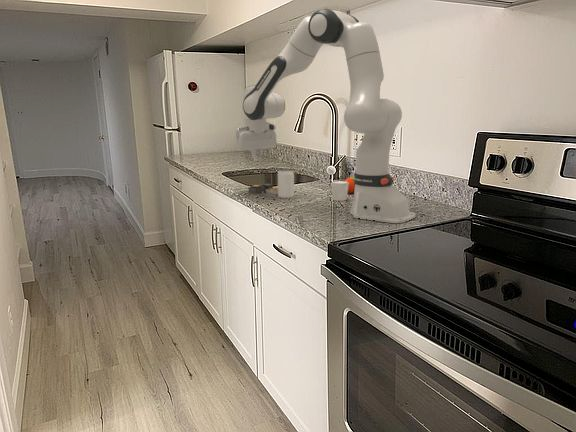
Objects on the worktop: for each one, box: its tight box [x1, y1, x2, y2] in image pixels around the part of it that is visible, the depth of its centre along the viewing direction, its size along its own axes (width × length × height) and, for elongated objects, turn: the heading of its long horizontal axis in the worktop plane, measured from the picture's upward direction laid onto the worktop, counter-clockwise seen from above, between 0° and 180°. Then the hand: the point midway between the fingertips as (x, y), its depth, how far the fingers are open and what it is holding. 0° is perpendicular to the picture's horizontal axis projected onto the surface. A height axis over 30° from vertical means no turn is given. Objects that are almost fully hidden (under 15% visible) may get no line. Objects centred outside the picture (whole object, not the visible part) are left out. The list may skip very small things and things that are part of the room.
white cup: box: [331, 180, 349, 202], centre depth 182 cm, size 7×7×7 cm
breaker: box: [250, 184, 262, 188], centre depth 193 cm, size 4×3×2 cm
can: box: [277, 167, 295, 199], centre depth 183 cm, size 6×6×12 cm
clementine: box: [344, 176, 355, 194], centre depth 193 cm, size 8×7×7 cm
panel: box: [247, 183, 278, 198], centre depth 192 cm, size 14×12×4 cm
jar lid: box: [265, 187, 278, 196], centre depth 192 cm, size 9×9×1 cm
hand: (257, 160), depth 190 cm, fingers closed
